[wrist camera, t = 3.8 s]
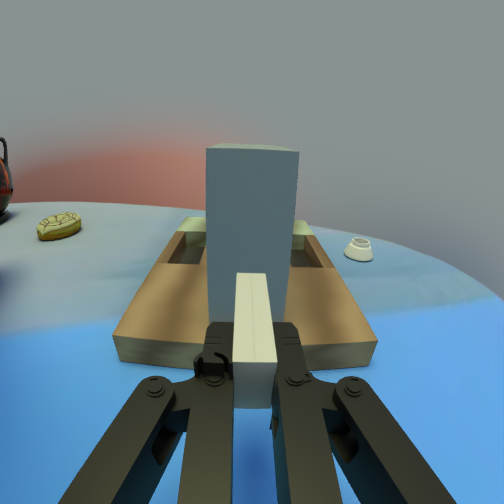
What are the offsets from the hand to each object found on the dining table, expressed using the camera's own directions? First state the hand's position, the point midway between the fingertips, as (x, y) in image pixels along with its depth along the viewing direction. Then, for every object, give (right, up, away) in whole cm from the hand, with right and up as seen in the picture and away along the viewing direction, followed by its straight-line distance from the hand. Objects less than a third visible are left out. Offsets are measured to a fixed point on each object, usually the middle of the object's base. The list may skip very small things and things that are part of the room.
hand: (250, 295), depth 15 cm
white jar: (+18, +1, +31) cm, 36 cm away
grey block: (-1, -2, +13) cm, 13 cm away
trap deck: (-1, -1, +23) cm, 23 cm away
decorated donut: (-41, +6, +36) cm, 55 cm away
